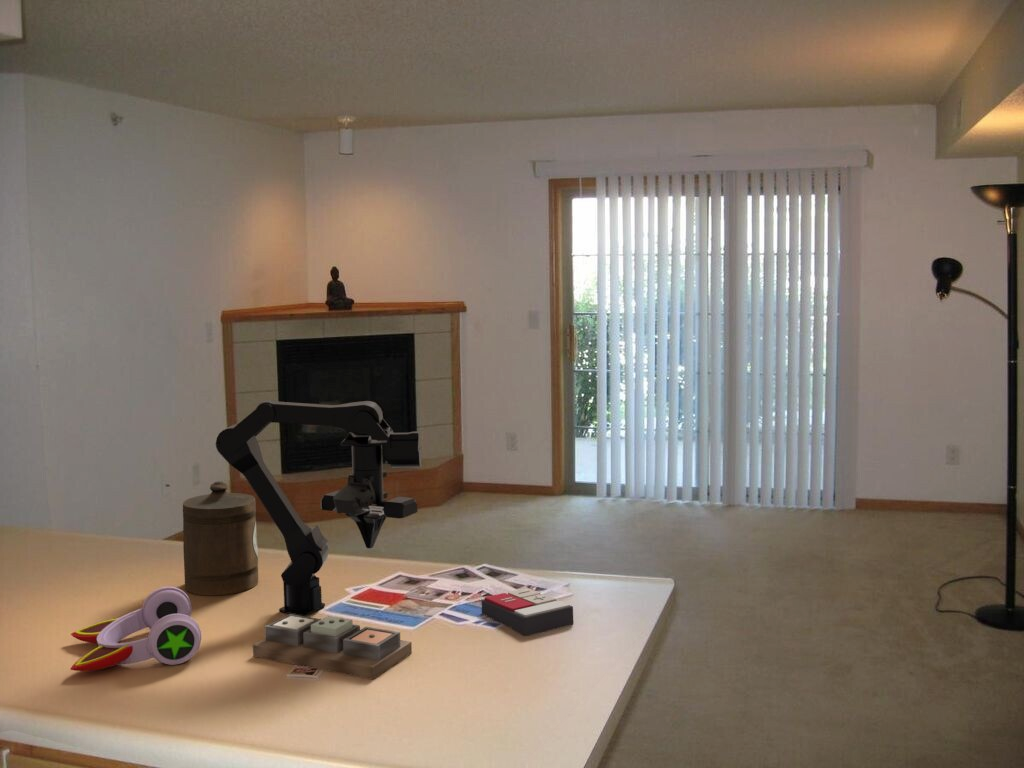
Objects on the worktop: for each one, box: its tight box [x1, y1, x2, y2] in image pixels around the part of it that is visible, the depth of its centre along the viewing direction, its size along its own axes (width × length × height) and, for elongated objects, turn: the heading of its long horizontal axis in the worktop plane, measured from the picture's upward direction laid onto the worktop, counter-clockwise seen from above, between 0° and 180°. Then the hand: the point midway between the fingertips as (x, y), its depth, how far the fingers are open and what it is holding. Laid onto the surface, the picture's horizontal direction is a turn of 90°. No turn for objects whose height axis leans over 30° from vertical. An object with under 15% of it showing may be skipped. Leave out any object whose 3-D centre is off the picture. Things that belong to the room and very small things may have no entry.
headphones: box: [70, 586, 202, 672], centre depth 172 cm, size 20×10×20 cm
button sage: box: [311, 615, 354, 637], centre depth 169 cm, size 5×5×2 cm
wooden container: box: [182, 480, 259, 597], centre depth 208 cm, size 15×15×22 cm
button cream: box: [273, 616, 314, 630], centre depth 173 cm, size 5×5×2 cm
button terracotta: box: [351, 630, 393, 644], centre depth 166 cm, size 5×5×2 cm
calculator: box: [481, 587, 574, 637], centre depth 187 cm, size 11×4×15 cm
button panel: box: [252, 613, 413, 680], centre depth 169 cm, size 24×12×4 cm, turn 65°
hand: (369, 548), depth 192 cm, fingers closed
